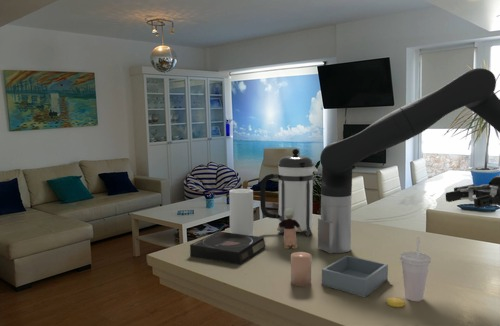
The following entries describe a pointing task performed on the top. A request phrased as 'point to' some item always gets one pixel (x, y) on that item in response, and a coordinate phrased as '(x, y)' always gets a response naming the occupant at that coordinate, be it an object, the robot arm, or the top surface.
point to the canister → (301, 269)
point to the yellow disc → (395, 302)
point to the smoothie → (415, 273)
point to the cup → (241, 211)
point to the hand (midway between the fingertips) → (460, 200)
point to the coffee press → (293, 190)
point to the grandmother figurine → (289, 229)
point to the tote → (355, 275)
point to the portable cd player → (227, 247)
